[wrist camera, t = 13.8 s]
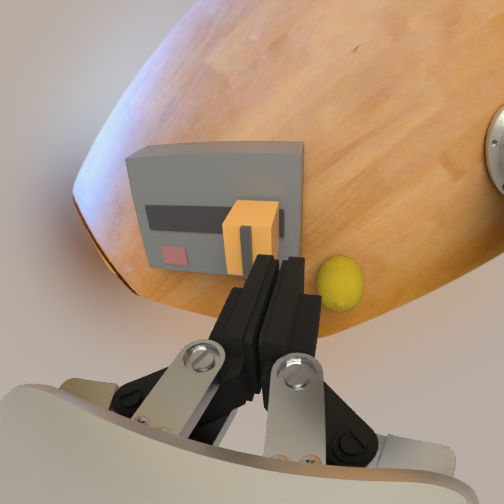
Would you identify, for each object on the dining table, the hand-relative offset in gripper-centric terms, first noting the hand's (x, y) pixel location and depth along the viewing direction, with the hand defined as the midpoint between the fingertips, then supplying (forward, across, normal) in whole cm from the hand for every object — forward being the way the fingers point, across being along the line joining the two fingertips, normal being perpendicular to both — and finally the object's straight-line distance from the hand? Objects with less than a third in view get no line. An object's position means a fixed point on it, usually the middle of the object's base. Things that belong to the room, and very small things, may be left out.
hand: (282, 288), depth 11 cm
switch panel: (+22, +11, +6) cm, 26 cm away
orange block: (+17, +5, +7) cm, 19 cm away
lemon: (+23, -3, +15) cm, 27 cm away
